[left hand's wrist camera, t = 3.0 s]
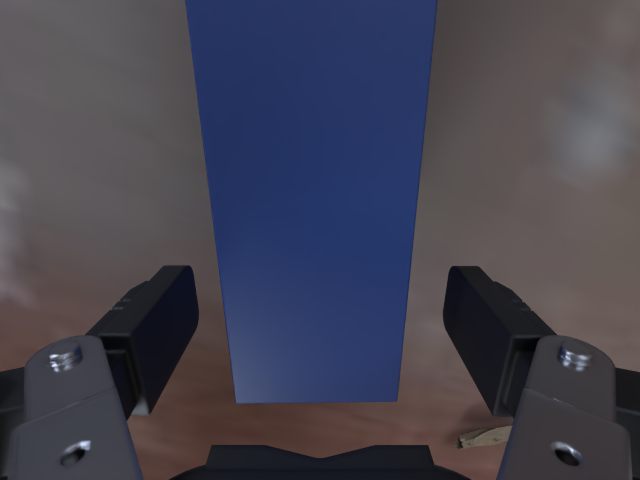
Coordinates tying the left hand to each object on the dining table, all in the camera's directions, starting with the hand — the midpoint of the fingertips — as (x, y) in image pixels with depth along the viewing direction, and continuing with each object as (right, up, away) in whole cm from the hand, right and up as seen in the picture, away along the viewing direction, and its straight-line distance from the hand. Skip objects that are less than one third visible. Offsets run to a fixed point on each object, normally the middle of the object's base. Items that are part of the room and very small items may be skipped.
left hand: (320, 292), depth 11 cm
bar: (0, +12, +4) cm, 12 cm away
